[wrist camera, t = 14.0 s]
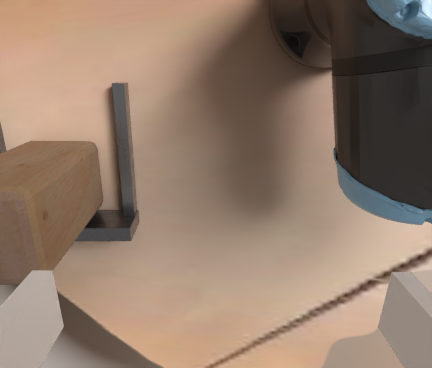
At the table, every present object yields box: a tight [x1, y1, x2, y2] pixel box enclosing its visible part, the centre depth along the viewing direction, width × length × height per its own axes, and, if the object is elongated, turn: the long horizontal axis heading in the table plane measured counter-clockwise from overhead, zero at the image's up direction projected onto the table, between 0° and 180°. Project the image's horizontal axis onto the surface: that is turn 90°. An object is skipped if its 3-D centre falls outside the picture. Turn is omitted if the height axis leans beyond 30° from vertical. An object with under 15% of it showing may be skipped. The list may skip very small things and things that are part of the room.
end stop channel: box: [0, 83, 139, 241], centre depth 43 cm, size 21×20×6 cm
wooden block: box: [0, 141, 103, 284], centre depth 37 cm, size 10×10×20 cm
